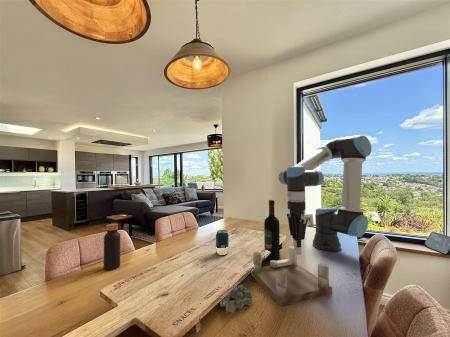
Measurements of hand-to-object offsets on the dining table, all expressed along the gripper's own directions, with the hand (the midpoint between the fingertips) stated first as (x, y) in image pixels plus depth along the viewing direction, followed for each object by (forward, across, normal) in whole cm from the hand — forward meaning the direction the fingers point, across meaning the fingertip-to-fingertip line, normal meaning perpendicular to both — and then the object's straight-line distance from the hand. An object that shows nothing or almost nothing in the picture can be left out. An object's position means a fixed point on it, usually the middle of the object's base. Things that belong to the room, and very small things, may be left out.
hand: (297, 253), depth 91 cm
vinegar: (+7, -25, -82) cm, 86 cm away
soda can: (+8, -28, -28) cm, 41 cm away
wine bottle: (+8, -15, -5) cm, 18 cm away
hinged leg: (+5, -2, -6) cm, 8 cm away
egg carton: (+8, +14, -33) cm, 37 cm away
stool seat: (+8, +7, -9) cm, 14 cm away
